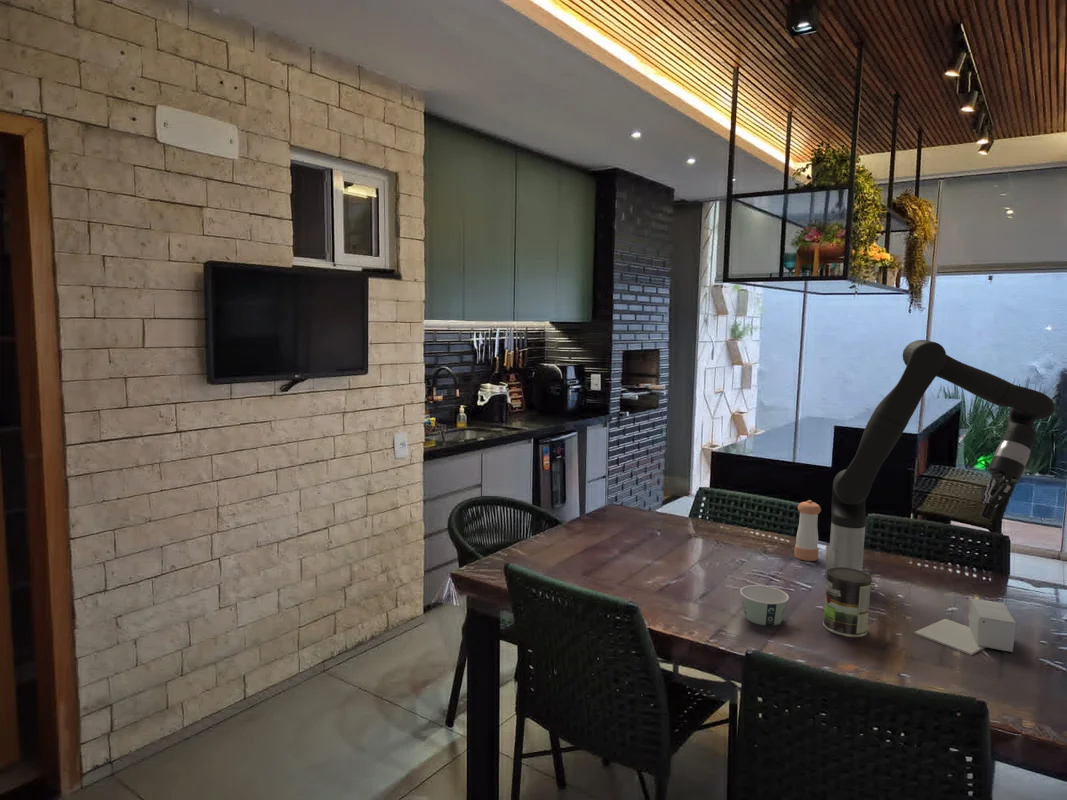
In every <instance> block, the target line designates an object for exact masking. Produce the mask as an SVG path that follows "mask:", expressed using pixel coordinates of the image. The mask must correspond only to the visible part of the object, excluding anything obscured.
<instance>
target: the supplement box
mask: <svg viewBox="0 0 1067 800" xmlns="http://www.w3.org/2000/svg"><path fill="white" fill-rule="evenodd" d="M969 610H970V611H969V617H968V618H969V619H968V627H970V629H971V631H972V634H973V636H974V638H975V641H976V643H977V645H978V646H982V647H986V648H987V649H988V648H989V649H993V650H998V651H1004V652H1011V653H1013V652H1014V645H1015V637H1016V631H1017V622H1016V620H1015V619H1014V617H1013V616H1012V614H1011V613H1010V611H1009V609H1008V607H1007V606H1006V604H1005V603H1002V602H1001V603H1000V602H995V601H989V600H988V601H987V600H984V599H983V600H982V599H975V598H971V600H970V609H969Z"/></svg>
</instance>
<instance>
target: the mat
mask: <svg viewBox="0 0 1067 800" xmlns="http://www.w3.org/2000/svg"><path fill="white" fill-rule="evenodd" d="M913 633H914V635H916V636H919V637H922V638H924V639H927V640H930V641H932V642H935V643H938V644H941V645H944V646H945V647H949V648H951V649H953V650H956V651H959V652H961V653H964V654H967V655H969V656H973V655H975V654H976V653H979V652H980V651H982V650H985V649H986V648H987V647H982V646H978V645H977V643H976V641H975V638H974V636H973V634H972V631H971V629H970V627H969V625H968V626H967V625H964V624H961V623H958V622H956V621H953V620H950V619H947V618H943V619H941V620H939V621H936V622H934V623H931V624H930V625H927V626H925V627H923V628H920V629H918V630H916V631H914V632H913Z"/></svg>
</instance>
